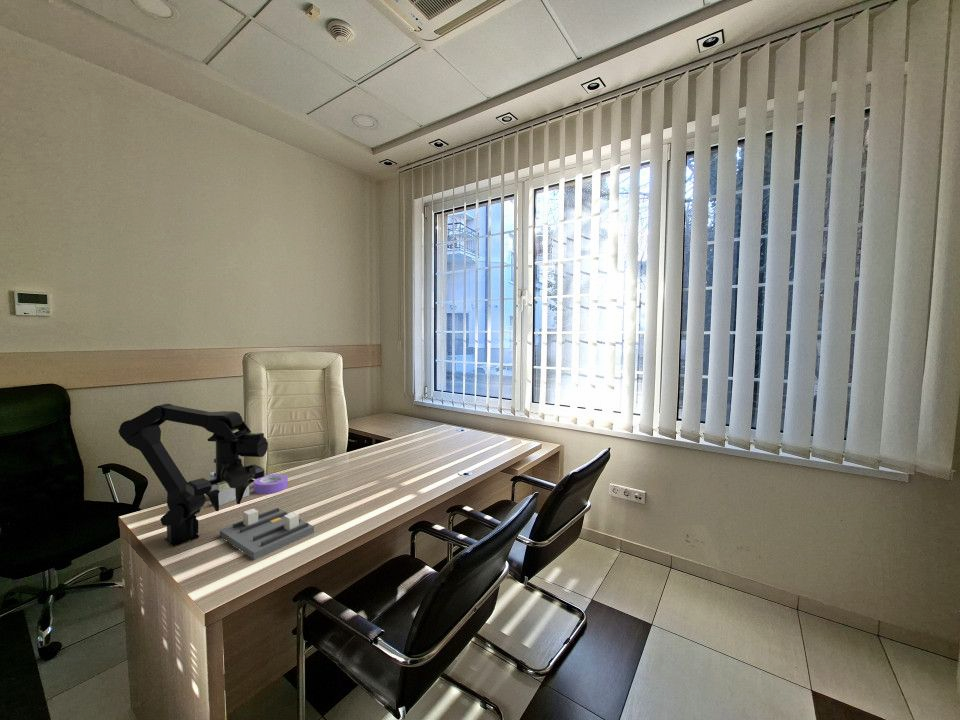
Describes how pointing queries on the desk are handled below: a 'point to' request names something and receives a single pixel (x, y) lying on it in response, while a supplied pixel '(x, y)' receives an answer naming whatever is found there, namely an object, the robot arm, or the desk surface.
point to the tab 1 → (250, 517)
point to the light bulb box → (227, 492)
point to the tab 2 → (291, 521)
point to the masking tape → (270, 484)
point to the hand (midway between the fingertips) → (227, 507)
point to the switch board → (265, 534)
